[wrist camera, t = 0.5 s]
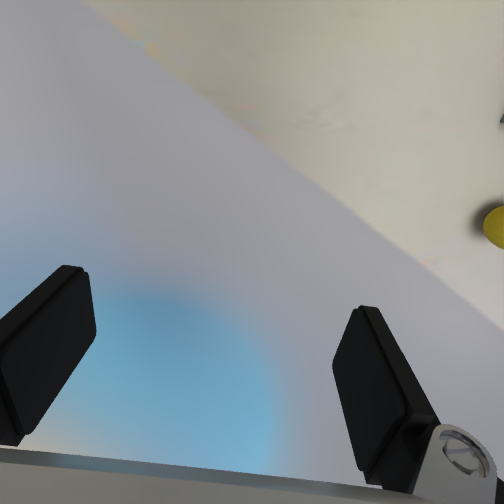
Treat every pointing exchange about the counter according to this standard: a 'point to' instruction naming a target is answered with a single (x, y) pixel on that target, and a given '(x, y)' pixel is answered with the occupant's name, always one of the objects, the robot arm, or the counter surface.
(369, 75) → the counter surface
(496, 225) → the lemon
